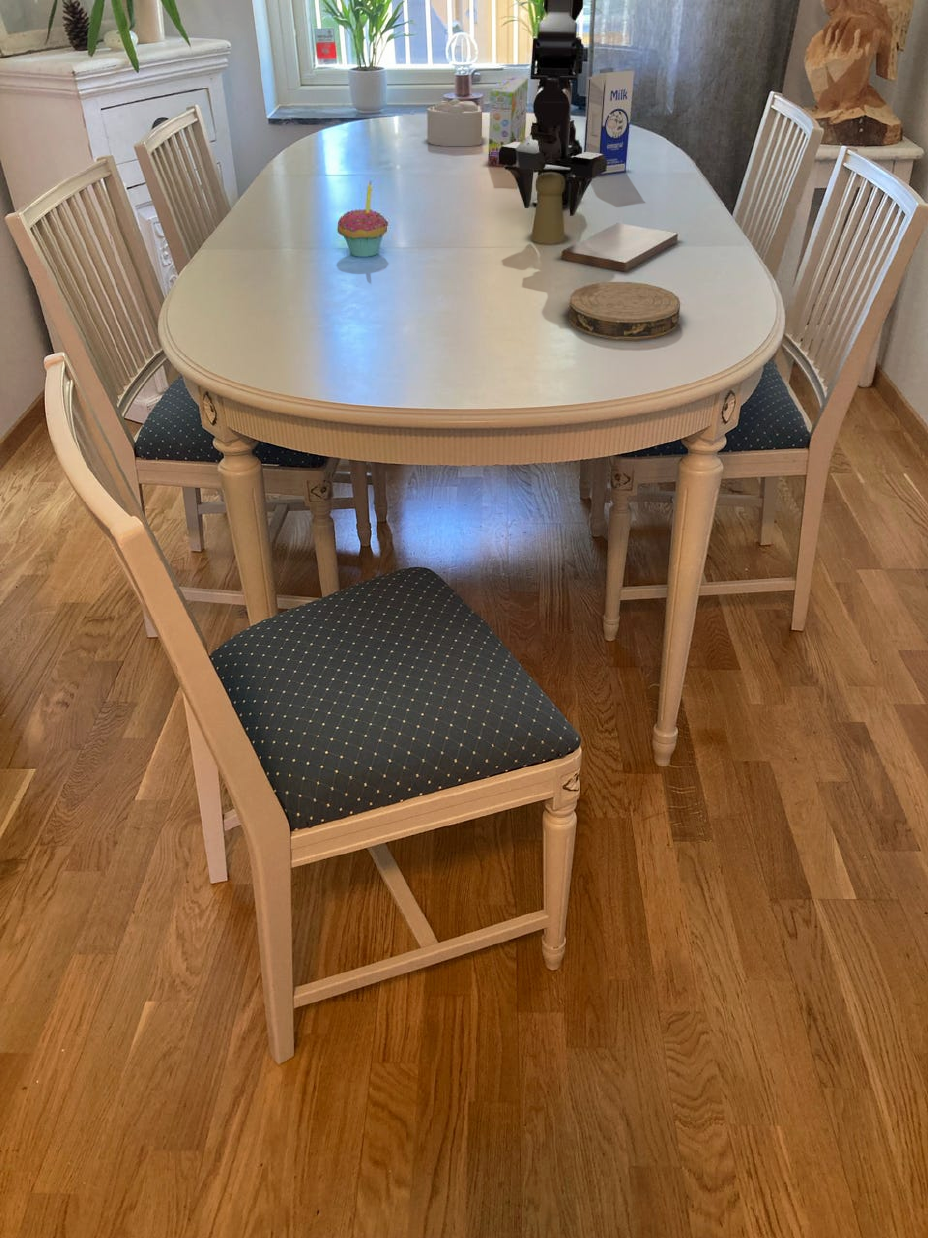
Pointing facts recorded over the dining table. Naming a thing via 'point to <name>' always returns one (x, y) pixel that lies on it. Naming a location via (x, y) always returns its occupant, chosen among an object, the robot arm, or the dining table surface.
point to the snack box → (507, 115)
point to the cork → (549, 209)
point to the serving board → (620, 247)
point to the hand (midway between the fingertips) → (549, 211)
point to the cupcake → (363, 229)
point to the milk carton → (609, 117)
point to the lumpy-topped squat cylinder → (455, 123)
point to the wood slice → (624, 310)
